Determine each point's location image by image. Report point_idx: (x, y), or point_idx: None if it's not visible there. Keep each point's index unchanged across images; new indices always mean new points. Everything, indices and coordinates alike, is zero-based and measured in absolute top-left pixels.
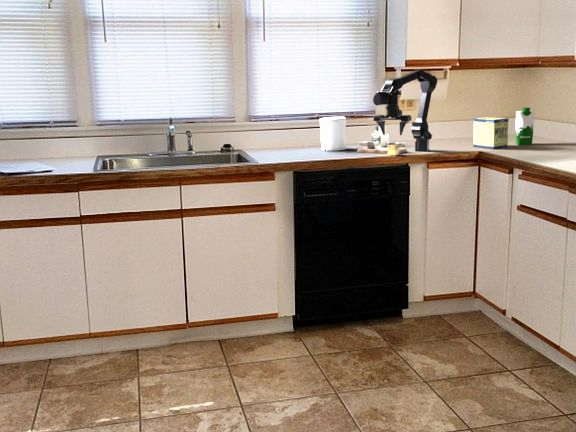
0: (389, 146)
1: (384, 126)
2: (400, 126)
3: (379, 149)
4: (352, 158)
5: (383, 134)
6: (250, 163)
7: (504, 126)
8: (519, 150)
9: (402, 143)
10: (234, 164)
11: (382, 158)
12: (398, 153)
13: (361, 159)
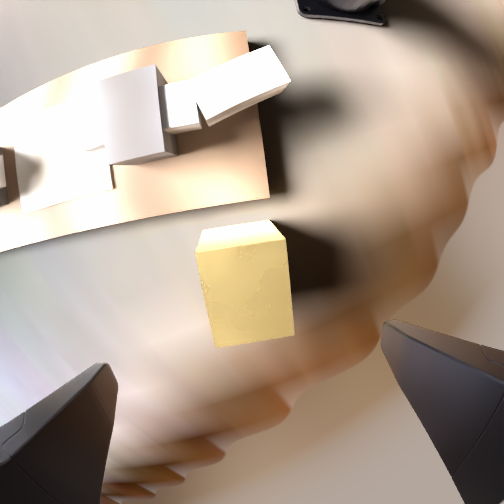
0: (237, 341)
1: (39, 448)
2: (458, 461)
3: (61, 202)
4: (126, 447)
5: (111, 391)
6: None
7: None
8: None
9: (259, 95)
10: None
11: (265, 414)
12: (269, 220)
13: (186, 458)
